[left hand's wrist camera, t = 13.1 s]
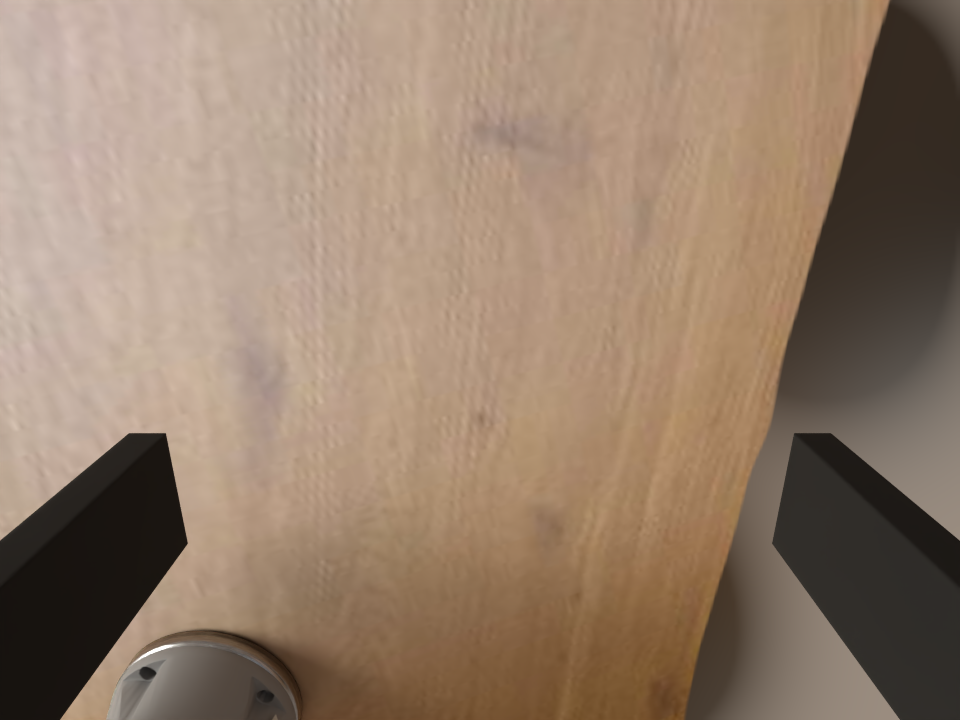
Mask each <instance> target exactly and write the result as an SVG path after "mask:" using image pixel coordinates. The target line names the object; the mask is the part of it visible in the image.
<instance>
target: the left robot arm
mask: <svg viewBox="0 0 960 720" xmlns="http://www.w3.org/2000/svg"><path fill="white" fill-rule="evenodd" d="M187 544H188V542H187V537H186V532H185V527H184V522H183V517H182V512H181V507H180V502H179V497H178V492H177V487H176V482H175V477H174V472H173V467H172V462H171V457H170V452H169V447H168V442H167V437H166V433H129V434H128V435H127V436H125V437H124V438H123V439H122V440H121V441H119V442H118V443H117V444H116V445H115V446H113V447H112V448H111V449H110V450H109V451H107V452H106V453H105V454H104V455H103V456H101V457H100V458H99V459H98V460H97V461H95V462H94V463H93V464H92V465H91V466H89V467H88V468H87V469H86V470H85V471H83V472H82V473H81V474H80V475H79V476H77V477H76V478H75V479H74V480H73V481H71V482H70V483H69V484H68V485H67V486H65V487H64V488H63V489H62V490H61V491H59V492H58V493H57V494H56V495H55V496H53V497H52V498H51V499H50V500H49V501H47V502H46V503H45V504H44V505H43V506H41V507H40V508H39V509H38V510H37V511H35V512H34V513H33V514H32V515H31V516H29V517H28V518H27V519H26V520H25V521H23V522H22V523H21V524H20V525H19V526H17V527H16V528H15V529H14V530H13V531H11V532H10V533H9V534H8V535H7V536H5V537H4V538H3V539H2V540H1V541H0V720H60V719H61V718H62V716H63V715H64V713H65V712H66V711H67V709H68V708H69V707H70V705H71V704H72V702H73V701H74V700H75V698H76V697H77V696H78V694H79V693H80V691H81V690H82V689H83V687H84V686H85V684H86V683H87V682H88V680H89V679H90V678H91V676H92V675H93V673H94V672H95V671H96V669H97V668H98V667H99V665H100V664H101V662H102V661H103V660H104V658H105V657H106V656H107V654H108V653H109V651H110V650H111V649H112V647H113V646H114V645H115V643H116V642H117V640H118V639H119V638H120V636H121V635H122V633H123V632H124V631H125V629H126V628H127V627H128V625H129V624H130V622H131V621H132V620H133V618H134V617H135V616H136V614H137V613H138V611H139V610H140V609H141V607H142V606H143V605H144V603H145V602H146V600H147V599H148V598H149V596H150V595H151V594H152V592H153V591H154V589H155V588H156V587H157V585H158V584H159V583H160V581H161V580H162V578H163V577H164V576H165V574H166V573H167V571H168V570H169V569H170V567H171V566H172V565H173V563H174V562H175V560H176V559H177V558H178V556H179V555H180V554H181V552H182V551H183V549H184V548H185V547H186V545H187ZM772 544H773V545H774V547H775V548H776V549H777V551H778V552H779V554H780V555H781V556H782V558H783V559H784V560H785V562H786V563H787V565H788V566H789V567H790V569H791V570H792V571H793V573H794V574H795V576H796V577H797V578H798V580H799V581H800V582H801V584H802V585H803V587H804V588H805V589H806V591H807V592H808V593H809V595H810V596H811V598H812V599H813V600H814V602H815V603H816V605H817V606H818V607H819V609H820V610H821V611H822V613H823V614H824V616H825V617H826V618H827V620H828V621H829V622H830V624H831V625H832V627H833V628H834V629H835V631H836V632H837V633H838V635H839V636H840V638H841V639H842V640H843V642H844V643H845V645H846V646H847V647H848V649H849V650H850V651H851V653H852V654H853V655H854V657H855V658H856V660H857V661H858V662H859V664H860V665H861V667H862V668H863V669H864V671H865V672H866V673H867V675H868V676H869V678H870V679H871V680H872V682H873V683H874V684H875V686H876V687H877V689H878V690H879V691H880V693H881V694H882V695H883V697H884V698H885V700H886V701H887V702H888V704H889V705H890V707H891V708H892V709H893V711H894V712H895V713H896V715H897V716H898V718H899V719H900V720H960V541H959V540H958V539H957V538H956V537H955V536H953V535H952V534H951V533H950V532H949V531H947V530H946V529H945V528H944V527H943V526H941V525H940V524H939V523H938V522H937V521H935V520H934V519H933V518H932V517H931V516H929V515H928V514H927V513H926V512H925V511H923V510H922V509H921V508H920V507H919V506H917V505H916V504H915V503H914V502H913V501H911V500H910V499H909V498H908V497H907V496H905V495H904V494H903V493H902V492H901V491H899V490H898V489H897V488H896V487H895V486H893V485H892V484H891V483H890V482H889V481H887V480H886V479H885V478H884V477H883V476H881V475H880V474H879V473H878V472H877V471H875V470H874V469H873V468H872V467H871V466H869V465H868V464H867V463H866V462H865V461H863V460H862V459H861V458H860V457H859V456H857V455H856V454H855V453H854V452H853V451H851V450H850V449H849V448H848V447H847V446H845V445H844V444H843V443H842V442H841V441H839V440H838V439H837V438H836V437H835V436H833V435H832V434H831V433H795V434H794V437H793V442H792V447H791V452H790V457H789V462H788V467H787V472H786V477H785V482H784V487H783V492H782V497H781V502H780V507H779V512H778V517H777V522H776V527H775V532H774V537H773V542H772ZM301 714H302V700H301V695H300V691H299V688H298V686H297V684H296V682H295V680H294V678H293V676H292V675H291V673H290V672H289V671H288V670H287V668H286V667H285V666H284V665H283V664H282V663H281V662H280V661H279V660H278V659H277V658H275V657H274V656H273V655H272V654H270V653H269V652H267V651H266V650H264V649H263V648H261V647H259V646H258V645H256V644H254V643H252V642H249V641H247V640H244V639H242V638H239V637H236V636H232V635H228V634H224V633H218V632H210V631H189V632H181V633H176V634H172V635H168V636H165V637H162V638H160V639H158V640H156V641H154V642H152V643H150V644H149V645H147V646H146V647H144V648H143V649H142V650H141V651H140V652H139V653H138V654H137V655H136V656H135V657H134V658H133V660H132V661H131V662H130V664H129V665H128V667H127V668H126V670H125V671H124V673H123V674H122V676H121V678H120V679H119V681H118V683H117V686H116V689H115V691H114V693H113V696H112V700H111V704H110V707H109V711H108V715H107V719H106V720H300V719H301Z"/></svg>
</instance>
